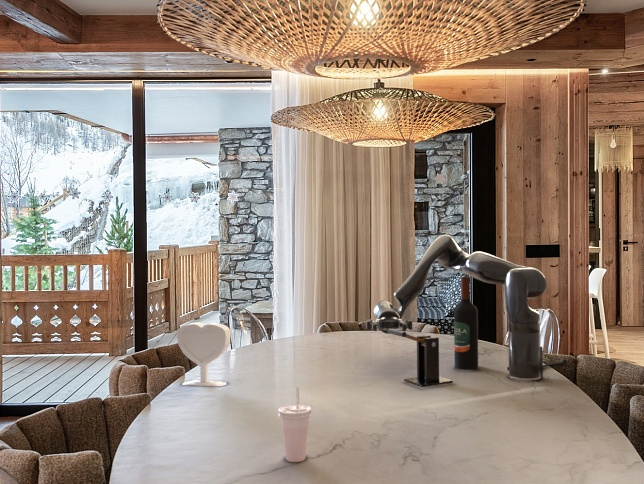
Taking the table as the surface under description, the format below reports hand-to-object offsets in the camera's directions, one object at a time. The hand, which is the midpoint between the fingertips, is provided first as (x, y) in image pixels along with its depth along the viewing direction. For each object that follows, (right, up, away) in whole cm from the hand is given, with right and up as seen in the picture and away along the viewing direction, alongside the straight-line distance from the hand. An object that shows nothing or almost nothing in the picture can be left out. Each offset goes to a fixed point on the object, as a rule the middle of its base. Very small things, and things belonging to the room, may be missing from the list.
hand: (389, 327), depth 182 cm
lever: (+6, -3, -7) cm, 10 cm away
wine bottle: (+26, -16, +15) cm, 34 cm away
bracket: (+11, -16, -5) cm, 20 cm away
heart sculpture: (-55, -17, -2) cm, 58 cm away
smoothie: (-22, -17, -64) cm, 70 cm away
